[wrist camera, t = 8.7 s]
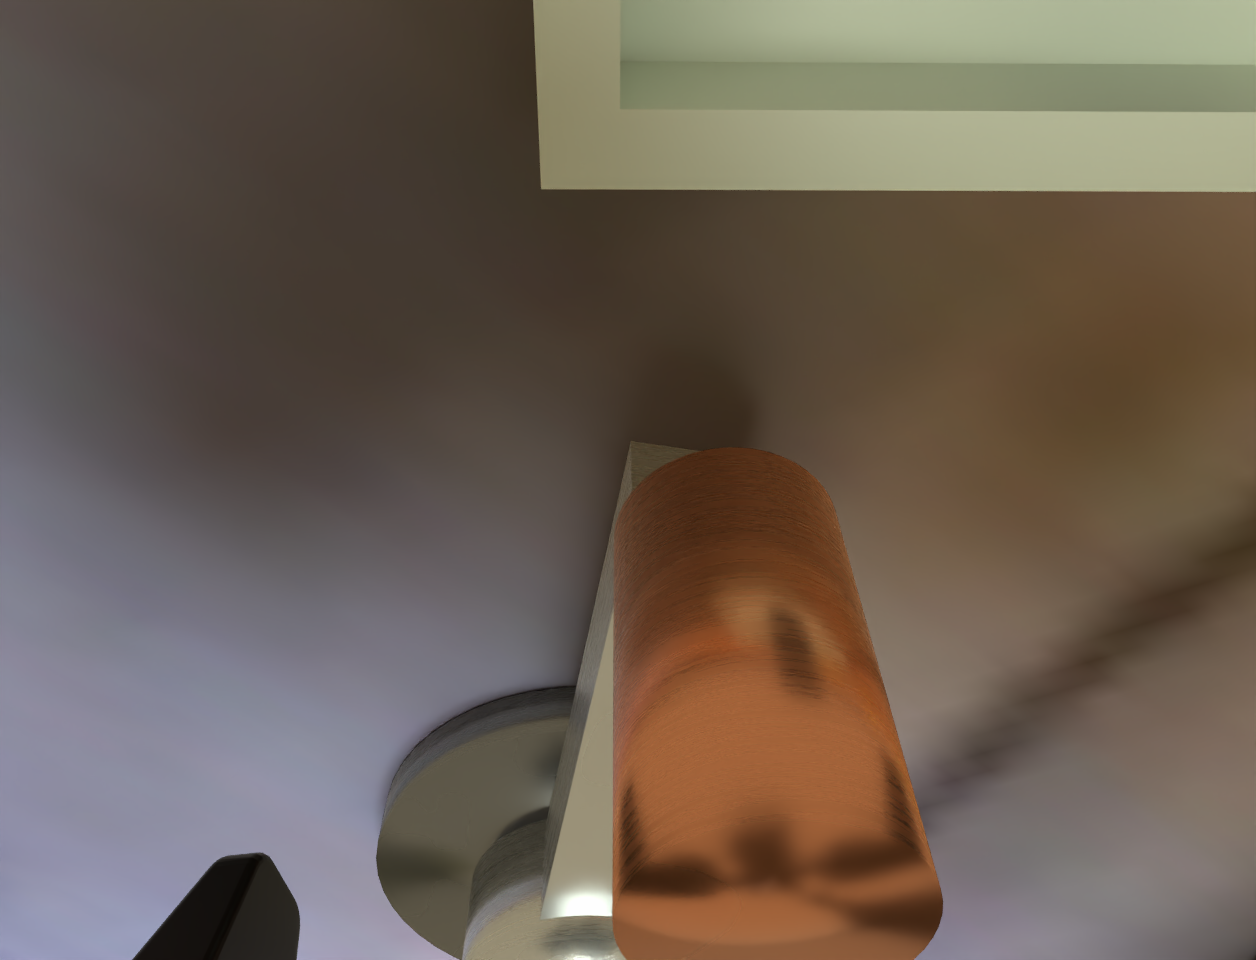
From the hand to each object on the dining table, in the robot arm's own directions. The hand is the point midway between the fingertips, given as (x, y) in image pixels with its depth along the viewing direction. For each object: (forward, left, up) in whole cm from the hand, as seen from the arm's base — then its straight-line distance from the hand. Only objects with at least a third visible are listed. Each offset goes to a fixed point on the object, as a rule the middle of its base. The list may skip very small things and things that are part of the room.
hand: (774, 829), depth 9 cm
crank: (+1, +5, -6) cm, 8 cm away
